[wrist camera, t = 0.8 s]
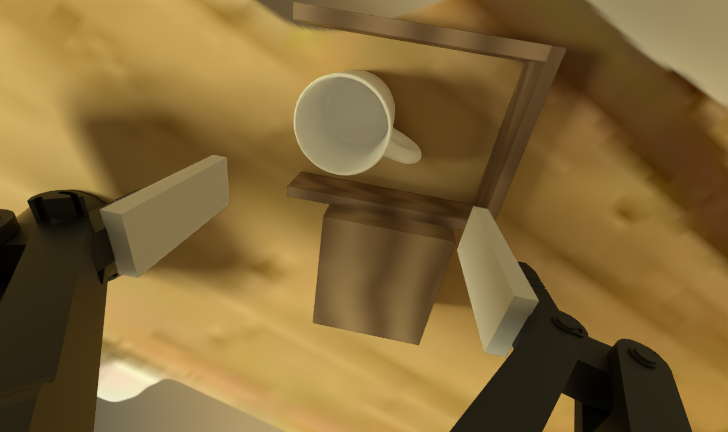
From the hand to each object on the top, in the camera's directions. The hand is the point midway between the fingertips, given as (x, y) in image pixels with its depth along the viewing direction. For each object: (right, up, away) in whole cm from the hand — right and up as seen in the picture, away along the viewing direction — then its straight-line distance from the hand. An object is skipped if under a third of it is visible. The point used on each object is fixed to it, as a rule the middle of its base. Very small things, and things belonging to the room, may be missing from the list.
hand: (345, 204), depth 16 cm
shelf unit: (+4, +3, +22) cm, 22 cm away
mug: (+2, +10, +18) cm, 21 cm away
